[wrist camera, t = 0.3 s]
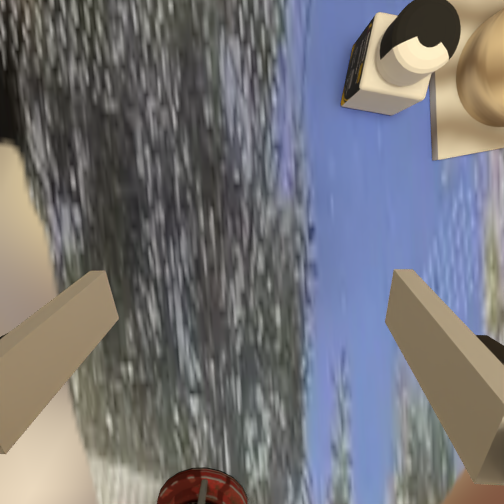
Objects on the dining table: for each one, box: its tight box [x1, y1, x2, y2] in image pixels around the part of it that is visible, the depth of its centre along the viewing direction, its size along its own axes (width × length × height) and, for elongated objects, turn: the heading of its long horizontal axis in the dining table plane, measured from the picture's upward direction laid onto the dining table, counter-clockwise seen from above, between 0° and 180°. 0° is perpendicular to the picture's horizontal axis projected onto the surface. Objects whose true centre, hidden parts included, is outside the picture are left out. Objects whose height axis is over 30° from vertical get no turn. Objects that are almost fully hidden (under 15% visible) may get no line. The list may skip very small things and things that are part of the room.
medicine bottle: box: [341, 0, 461, 115], centre depth 30 cm, size 7×7×12 cm
